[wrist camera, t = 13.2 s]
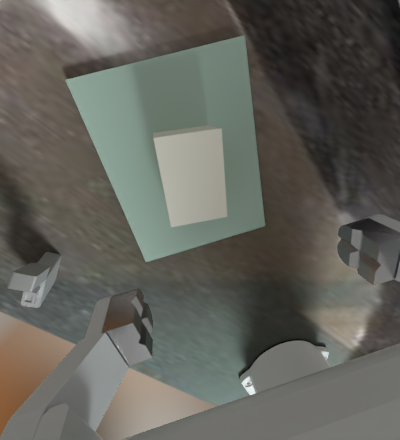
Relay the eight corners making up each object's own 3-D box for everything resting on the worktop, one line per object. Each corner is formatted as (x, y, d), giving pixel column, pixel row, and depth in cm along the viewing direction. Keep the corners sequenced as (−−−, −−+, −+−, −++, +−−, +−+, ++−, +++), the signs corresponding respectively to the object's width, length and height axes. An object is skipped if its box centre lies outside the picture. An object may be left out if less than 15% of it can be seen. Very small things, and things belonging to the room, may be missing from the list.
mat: (262, 223, 29) (265, 226, 29) (146, 258, 28) (146, 262, 28) (241, 37, 20) (245, 34, 19) (68, 81, 19) (65, 79, 19)
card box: (208, 125, 22) (221, 128, 18) (214, 198, 26) (227, 216, 21) (153, 132, 22) (153, 137, 17) (168, 207, 25) (171, 227, 21)
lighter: (55, 281, 28) (20, 339, 20) (39, 278, 27) (-2, 337, 20) (67, 234, 25) (33, 281, 18) (50, 229, 25) (8, 276, 18)
